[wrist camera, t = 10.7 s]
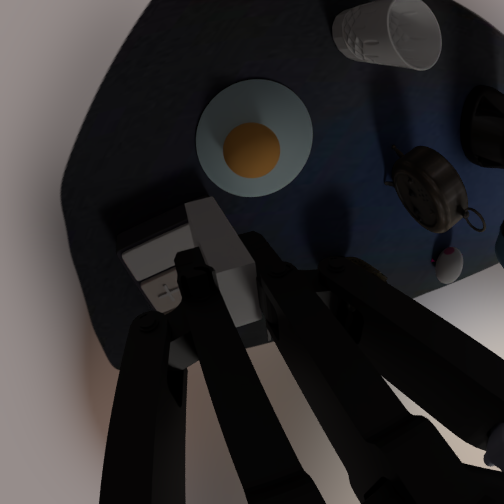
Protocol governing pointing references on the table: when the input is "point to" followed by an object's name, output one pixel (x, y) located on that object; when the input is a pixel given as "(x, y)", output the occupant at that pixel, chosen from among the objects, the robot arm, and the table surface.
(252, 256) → the robot arm
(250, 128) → the ball
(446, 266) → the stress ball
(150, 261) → the calculator
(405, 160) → the alarm clock
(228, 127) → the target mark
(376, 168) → the table surface
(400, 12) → the white cup
